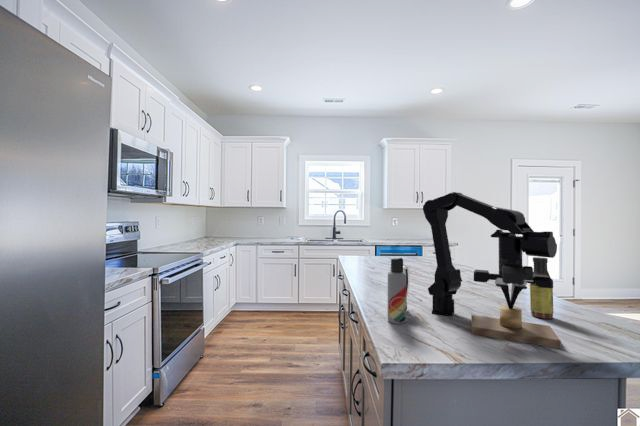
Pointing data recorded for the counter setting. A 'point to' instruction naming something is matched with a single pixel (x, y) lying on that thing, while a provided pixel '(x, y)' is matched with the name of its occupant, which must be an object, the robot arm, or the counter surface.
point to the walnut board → (515, 331)
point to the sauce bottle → (541, 292)
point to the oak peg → (511, 317)
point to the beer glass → (406, 270)
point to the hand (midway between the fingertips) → (510, 308)
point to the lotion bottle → (397, 292)
